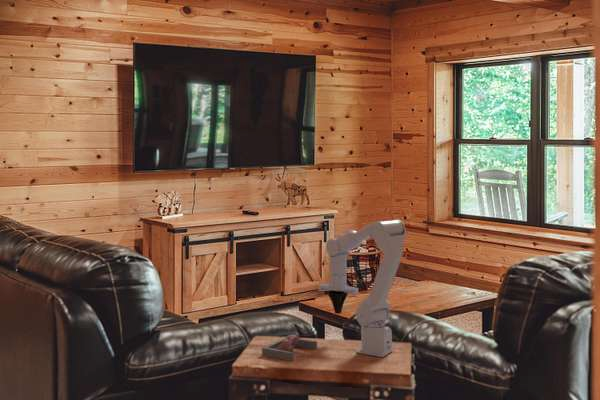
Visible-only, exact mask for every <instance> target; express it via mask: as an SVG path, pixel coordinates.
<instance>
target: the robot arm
mask: <svg viewBox="0 0 600 400" xmlns="http://www.w3.org/2000/svg"><path fill="white" fill-rule="evenodd" d="M407 233H408V232H407V229H406V227H405V224H404V222H403V221H402V220H401V219H397V218H396V219H393V220H392V219H390V220H383V221H377V220H376V221H374V222H371V223H370V224H368V225H366V226H364V227H363V228H361V229H359V230H357V231H356V230H353V229H348V230H346V232H345V233H344V234H339V235H338V236H337V237H336V238H329V239H328V240H327V241H326V245H325V250H326V253H327V254H328V255H329V283H320V284H318V286H317V288H318V289H317V290H318V291H327V292H329V293H327V295H328V297H329V299H330V302H331V303H332V306H333V310H334V314H338V315H339V314H342V310H343V306H344V303H345V300H346V299H347V297H348V296H349V295H350V294H351V295H355V296H357V295H359V288H358V287H353V286H350V285H347V284H348V283H347V282H348V281H347V275H348V271H347V266H348V264H347V262H348V261H347V260H348V259H349V253H350V251H352V250H354V249H358V248H359V247H360V246H361V245H362V242H363V241H365V240H368V239H370V238H372V239H373V241H374V243H375V244H376V246H377V248H378V249H379V251H381V252H383V256H382V258H381V260H380V264H379V267H378V269H377V272H376V276H375V278H374V281H373V283H372V287H371V290H370V292H369V295H368V296H367V297H366V298H364V299H363V300H362V301H361V304H360V305H359V306H358V307H356V311H355V317H356V318H355V319H356V320H357V322H358V323H359V326H361V327H360V328H361V335H360V336H361V338H360V340H361V348H360V349H357V350H356V352H355V353H357V354H363V355H367V356H374V357H380V358H384V357H385V356H387V355H388V354H390V353H392V352H393V351H394V349H393V333H392V332H393V331H392V329H391V327H390V326H386V322H387V321H388V319H389V317H390V307H391V303H390V302H389V300H388V297H389V293H390V291H391V289H392V288H391V287H392V285H393V282H394V281H395V277H396V274H397V271H398V268H399V266H400V262H401V261H402V257H403V254H404V242H405V239H406V236H407Z"/></svg>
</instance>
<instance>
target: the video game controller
mask: <svg viewBox="0 0 600 400" xmlns="http://www.w3.org/2000/svg"><path fill="white" fill-rule="evenodd" d="M285 338H286V339H285V340H284V341H283V342H282V343H281V344H280V345H279V346H278V347H276V348H275V349H278V350H283V351H289V352H293V350H294V348H295V347H296V346H295V345H296V344H297V343H298V341H299V339H300V336H298V335H296V334H294V333H293V334H288V335H286V337H285Z"/></svg>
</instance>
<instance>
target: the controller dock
mask: <svg viewBox="0 0 600 400" xmlns="http://www.w3.org/2000/svg"><path fill="white" fill-rule="evenodd" d="M285 339H286V337H284V338H281V339H279V340H277V341H275V342H272V343H270V344H268V345H266V346H263V347H261V356H262V357H269V358H272V359H278V360H283V361H288V362H293V361H295V360H294V359H295V352H294V351H283V350H278V349H275V348H276V347H278V346H279V345H280V344H281V343H282V342H283V341H284V340H285ZM295 347H299V348H304V349H309V350H310V349H311V350H314V351H315V350H318V341H317V340H311V339H306V338H300V339H299V341H298V343H297V344H296V345H295Z"/></svg>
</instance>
